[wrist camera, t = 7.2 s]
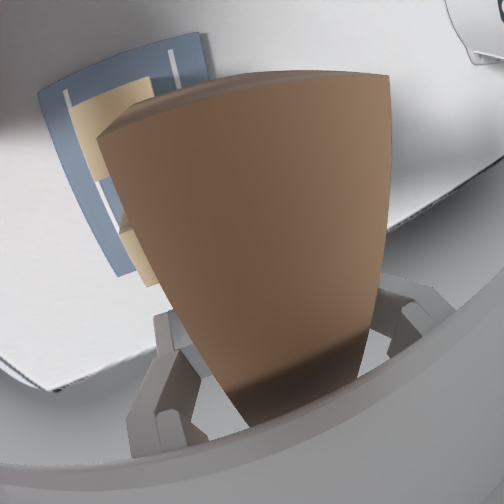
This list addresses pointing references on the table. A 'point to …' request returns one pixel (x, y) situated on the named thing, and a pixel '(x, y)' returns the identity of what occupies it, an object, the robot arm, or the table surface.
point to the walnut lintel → (263, 223)
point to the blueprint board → (93, 84)
